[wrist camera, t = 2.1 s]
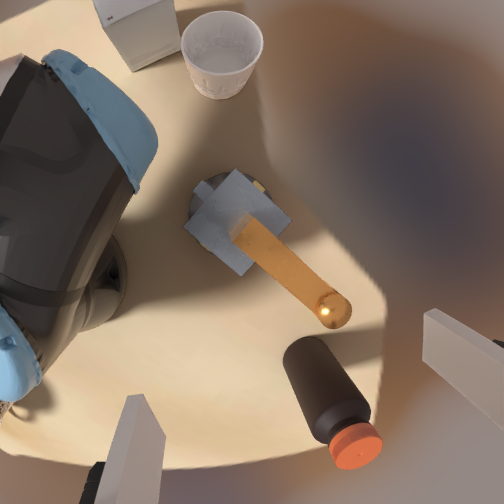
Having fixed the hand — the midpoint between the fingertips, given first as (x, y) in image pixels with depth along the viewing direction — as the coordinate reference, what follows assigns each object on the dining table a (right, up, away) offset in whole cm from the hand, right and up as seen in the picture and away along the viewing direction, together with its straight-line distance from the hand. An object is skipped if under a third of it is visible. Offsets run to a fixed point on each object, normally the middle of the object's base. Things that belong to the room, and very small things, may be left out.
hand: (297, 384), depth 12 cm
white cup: (-6, +27, +22) cm, 35 cm away
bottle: (+6, -9, +30) cm, 32 cm away
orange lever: (-2, +8, +23) cm, 24 cm away
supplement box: (-15, +33, +19) cm, 41 cm away
